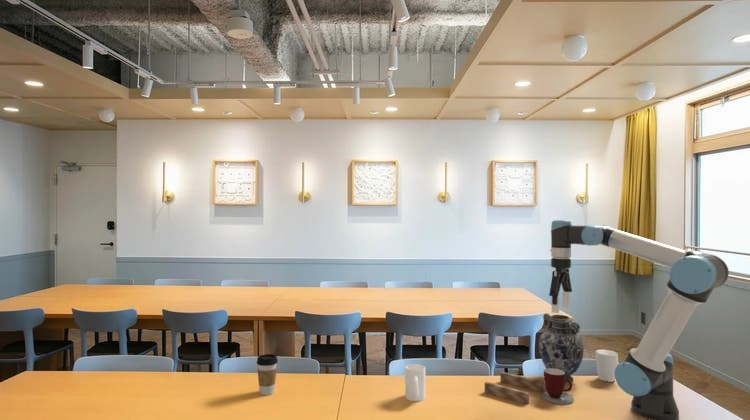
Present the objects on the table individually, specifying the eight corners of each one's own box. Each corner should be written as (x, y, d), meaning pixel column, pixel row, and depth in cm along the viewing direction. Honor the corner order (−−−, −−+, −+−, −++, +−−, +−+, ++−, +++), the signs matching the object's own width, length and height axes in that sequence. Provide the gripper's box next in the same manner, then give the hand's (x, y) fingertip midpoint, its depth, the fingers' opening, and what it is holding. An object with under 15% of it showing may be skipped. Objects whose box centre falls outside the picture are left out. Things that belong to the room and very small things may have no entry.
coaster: (577, 397, 181) (577, 396, 181) (568, 407, 172) (568, 406, 172) (547, 390, 189) (547, 388, 189) (537, 398, 180) (537, 397, 180)
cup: (597, 381, 199) (597, 354, 199) (593, 374, 207) (593, 348, 207) (620, 384, 196) (620, 356, 196) (615, 376, 205) (615, 350, 205)
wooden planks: (543, 391, 188) (543, 381, 188) (527, 404, 174) (527, 394, 174) (502, 380, 199) (502, 371, 199) (484, 392, 186) (484, 382, 186)
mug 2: (568, 393, 184) (568, 369, 184) (574, 401, 176) (574, 376, 176) (541, 392, 185) (541, 367, 186) (546, 400, 177) (546, 374, 178)
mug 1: (403, 405, 173) (404, 373, 173) (405, 392, 185) (405, 363, 185) (425, 406, 172) (425, 374, 172) (425, 393, 184) (425, 364, 184)
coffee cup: (251, 394, 183) (252, 357, 183) (266, 387, 190) (266, 351, 190) (267, 398, 179) (268, 360, 179) (281, 390, 186) (282, 354, 186)
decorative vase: (596, 384, 195) (595, 319, 196) (563, 390, 189) (562, 323, 189) (559, 368, 215) (558, 310, 216) (528, 374, 208) (527, 313, 209)
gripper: (561, 255, 196) (561, 304, 196) (540, 259, 177) (540, 313, 177) (579, 256, 191) (579, 306, 191) (560, 260, 172) (560, 316, 172)
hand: (560, 310), depth 184 cm, fingers open, 13 cm apart
